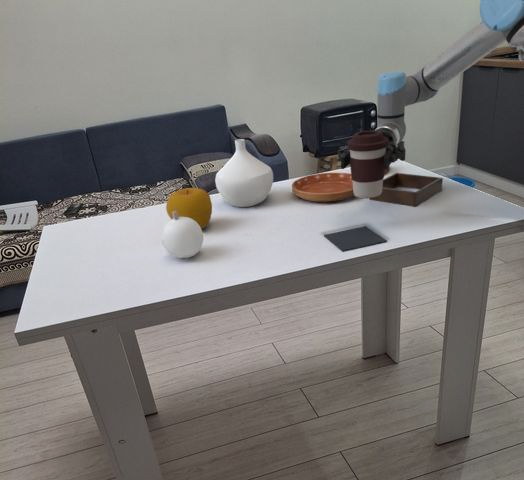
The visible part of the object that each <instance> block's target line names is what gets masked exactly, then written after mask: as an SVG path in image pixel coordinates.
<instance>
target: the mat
mask: <svg viewBox="0 0 524 480" xmlns="http://www.w3.org/2000/svg"><path fill="white" fill-rule="evenodd" d="M323 236H324V238H325V239H327V240H328V241H329V242H331V243H332V244H333V246H335V247H336V248H338V249H339V250H340V251H341V252H343V253H344V252H348V251H353V250H357V249H361V248H366V247H370V246H375V245H379V244H385V243H387V242H388V240H387V239H386V238H384V237H382V236H381V235H380V234H378V233H377V232H375V231H374V230H372V229H371V228H370V227H368V226H366V225H363V226H359V227H354V228H349V229H345V230H339V231H335V232H331V233H326V234H323Z"/></svg>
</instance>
